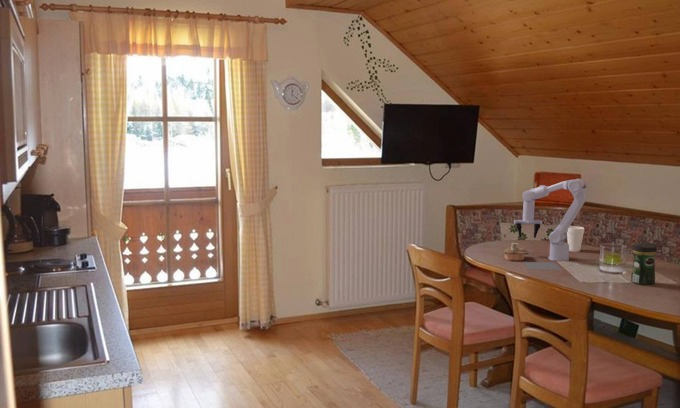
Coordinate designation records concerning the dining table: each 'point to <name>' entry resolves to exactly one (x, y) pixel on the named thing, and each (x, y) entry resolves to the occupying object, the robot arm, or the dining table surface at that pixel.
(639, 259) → the coffee jar
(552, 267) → the mat
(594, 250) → the dining table surface
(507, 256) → the bowl
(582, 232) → the foam cup
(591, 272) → the dining table surface
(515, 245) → the square tan board
